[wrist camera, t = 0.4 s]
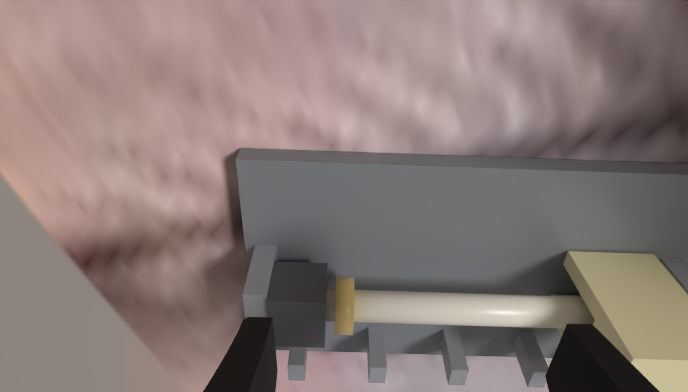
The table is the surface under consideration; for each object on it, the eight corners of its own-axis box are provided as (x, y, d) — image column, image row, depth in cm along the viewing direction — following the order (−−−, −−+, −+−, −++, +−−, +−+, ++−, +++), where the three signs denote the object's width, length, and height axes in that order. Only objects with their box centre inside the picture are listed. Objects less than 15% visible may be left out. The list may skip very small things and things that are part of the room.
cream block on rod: (653, 253, 21) (744, 361, 17) (624, 308, 23) (698, 418, 19) (568, 251, 21) (633, 358, 16) (546, 305, 23) (599, 416, 18)
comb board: (724, 164, 20) (809, 227, 16) (623, 345, 27) (667, 419, 23) (240, 148, 20) (214, 207, 16) (258, 334, 26) (244, 407, 23)
